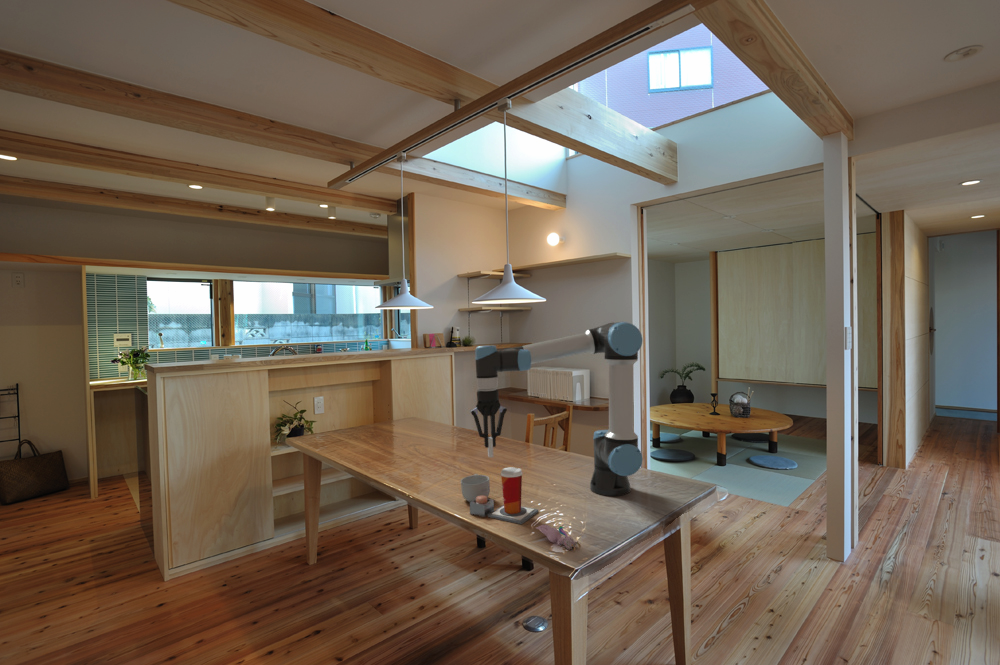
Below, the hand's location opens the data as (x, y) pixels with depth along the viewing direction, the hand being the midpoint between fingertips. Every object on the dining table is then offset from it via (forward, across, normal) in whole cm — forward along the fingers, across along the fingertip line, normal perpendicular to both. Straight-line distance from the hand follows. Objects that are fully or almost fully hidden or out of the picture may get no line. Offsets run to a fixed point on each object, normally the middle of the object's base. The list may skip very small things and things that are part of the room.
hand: (490, 456), depth 166 cm
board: (+19, -6, +6) cm, 21 cm away
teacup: (+19, +4, -12) cm, 23 cm away
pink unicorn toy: (+19, -14, +30) cm, 39 cm away
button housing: (+19, +4, +2) cm, 19 cm away
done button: (+17, +4, +2) cm, 17 cm away
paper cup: (+18, -6, +6) cm, 20 cm away
